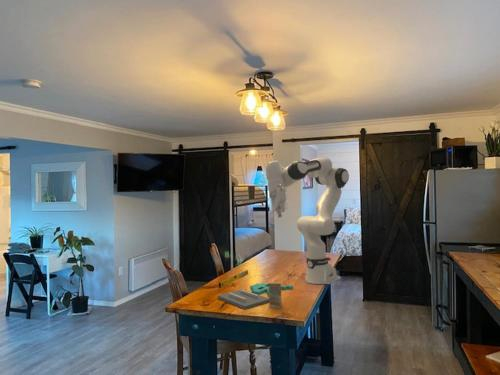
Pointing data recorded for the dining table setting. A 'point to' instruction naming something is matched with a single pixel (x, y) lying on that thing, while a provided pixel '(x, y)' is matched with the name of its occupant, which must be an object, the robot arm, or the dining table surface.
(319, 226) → the robot arm
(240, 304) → the plate
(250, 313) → the dining table surface
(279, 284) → the grey brown upright block
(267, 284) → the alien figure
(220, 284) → the spirit level
